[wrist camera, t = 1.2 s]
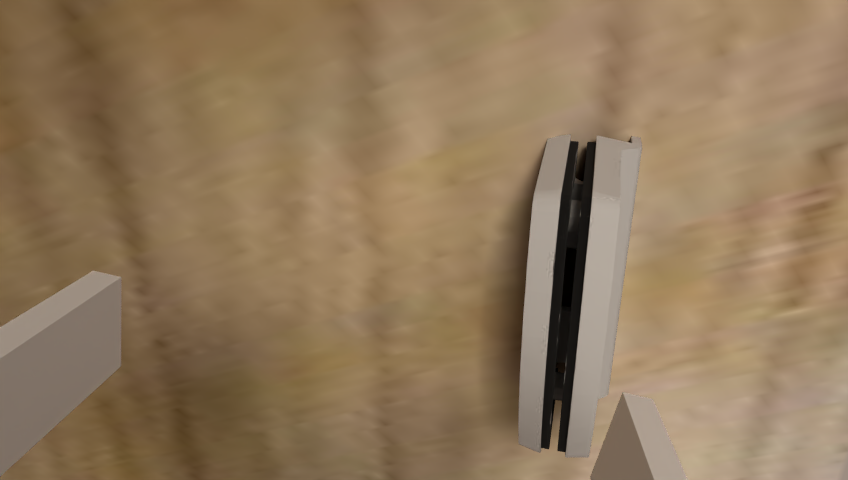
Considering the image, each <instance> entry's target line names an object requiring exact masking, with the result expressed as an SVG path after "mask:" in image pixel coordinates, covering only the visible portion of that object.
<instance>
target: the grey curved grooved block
mask: <svg viewBox="0 0 848 480" xmlns="http://www.w3.org/2000/svg"><path fill="white" fill-rule="evenodd" d="M641 151H642V142H641V138H640V137H634V136H631V142H630V143H629V142H625V141H620V140H616V139H611V138H607V137H602V136H598V135H597V139H596V142H588V143H587V153H586V162H585V172H584V181H583V182H582V181H580V180H578V179H577V178H576V177H575V174H576V164H577V153H578V142H576V141H571V134H569V135H562V136H556V137H553V138H549V139H547V143H546V147H545V151H544V155H543V160H542V164H541V168H540V172H539V176H538V180H537V184H536V188H535V192H534V198H533V204H532V215H531V226H530V237H529V249H528V261H527V273H526V286H525V300H524V313H523V329H522V346H521V364H520V385H519V420H518V426H519V444H520V445H522V446H525V447H527V448H529V449H532V450H534V451H537V452H539V453H540V452H541V448H545V449H549V445H550V437H551V429H552V421H553V413H554V405H555V400H561V401H562V408H561V419H560V430H559V440H558V451H562V452H566V453H565V457H589V453H590V447H591V441H592V435H593V429H594V422H595V416H596V409H597V402H598V399H600V398H603V397H605V396H607V395H608V392H609V384H610V377H611V370H612V362H613V355H614V348H615V341H616V333H617V326H618V319H619V311H620V304H621V297H622V290H623V282H624V275H625V268H626V260H627V253H628V246H629V239H630V231H631V224H632V217H633V209H634V202H635V195H636V188H637V180H638V173H639V166H640V158H641ZM566 248H573V249H577V252H576V262H575V272H574V282H573V293H572V303H571V307H566V306H562V305H561V304H562V292H563V281H564V269H565V258H566ZM556 363H566V366H565V373H561V372H558V368H556Z"/></svg>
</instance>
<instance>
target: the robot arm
mask: <svg viewBox="0 0 848 480" xmlns="http://www.w3.org/2000/svg"><path fill="white" fill-rule="evenodd" d="M120 367H121V277H119V276H115V275H110V274H106V273H101V272H97V271H92V272H90V273H88V274H87V275H85V276H83V277H82V278H80V279H79V280H77V281H75V282H74V283H72V284H70V285H69V286H67V287H65V288H64V289H62V290H60V291H59V292H57V293H56V294H54V295H52V296H51V297H49V298H47V299H46V300H44V301H42V302H41V303H39V304H38V305H36V306H34V307H33V308H31V309H29V310H28V311H26V312H24V313H23V314H21V315H19V316H18V317H16V318H15V319H13V320H11V321H10V322H8V323H6V324H5V325H3V326H1V327H0V476H1V475H2V474H4V473H5V472H6V471H7V470H8V469H9V468H10V467H11V466H12V465H13V464H14V463H16V462H17V461H18V460H19V459H20V458H21V457H22V456H23V455H24V454H25V453H27V452H28V451H29V450H30V449H31V448H32V447H33V446H34V445H35V444H36V443H37V442H39V441H40V440H41V439H42V438H43V437H44V436H45V435H46V434H47V433H48V432H50V431H51V430H52V429H53V428H54V427H55V426H56V425H57V424H58V423H59V422H60V421H62V420H63V419H64V418H65V417H66V416H67V415H68V414H69V413H70V412H71V411H73V410H74V409H75V408H76V407H77V406H78V405H79V404H80V403H81V402H82V401H84V400H85V399H86V398H87V397H88V396H89V395H90V394H91V393H92V392H93V391H94V390H96V389H97V388H98V387H99V386H100V385H101V384H102V383H103V382H104V381H105V380H107V379H108V378H109V377H110V376H111V375H112V374H113V373H114V372H115V371H116V370H117V369H119V368H120ZM590 477H591V480H688V479H687V477H686V474H685V472H684V470H683V467H682V465H681V463H680V460H679V458H678V456H677V454H676V451H675V449H674V447H673V444H672V442H671V440H670V437H669V435H668V433H667V430H666V428H665V426H664V423H663V421H662V419H661V417H660V414H659V412H658V410H657V407H656V405H655V403H654V400H653V399H650V398H646V397H642V396H637V395H633V394H629V393H624V392H623V393H622V395H621V398H620V401H619V403H618V406H617V408H616V411H615V414H614V416H613V419H612V422H611V424H610V427H609V429H608V432H607V435H606V437H605V440H604V442H603V445H602V448H601V450H600V453H599V456H598V458H597V461H596V463H595V466H594V469H593V471H592V474H591V476H590Z"/></svg>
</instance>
